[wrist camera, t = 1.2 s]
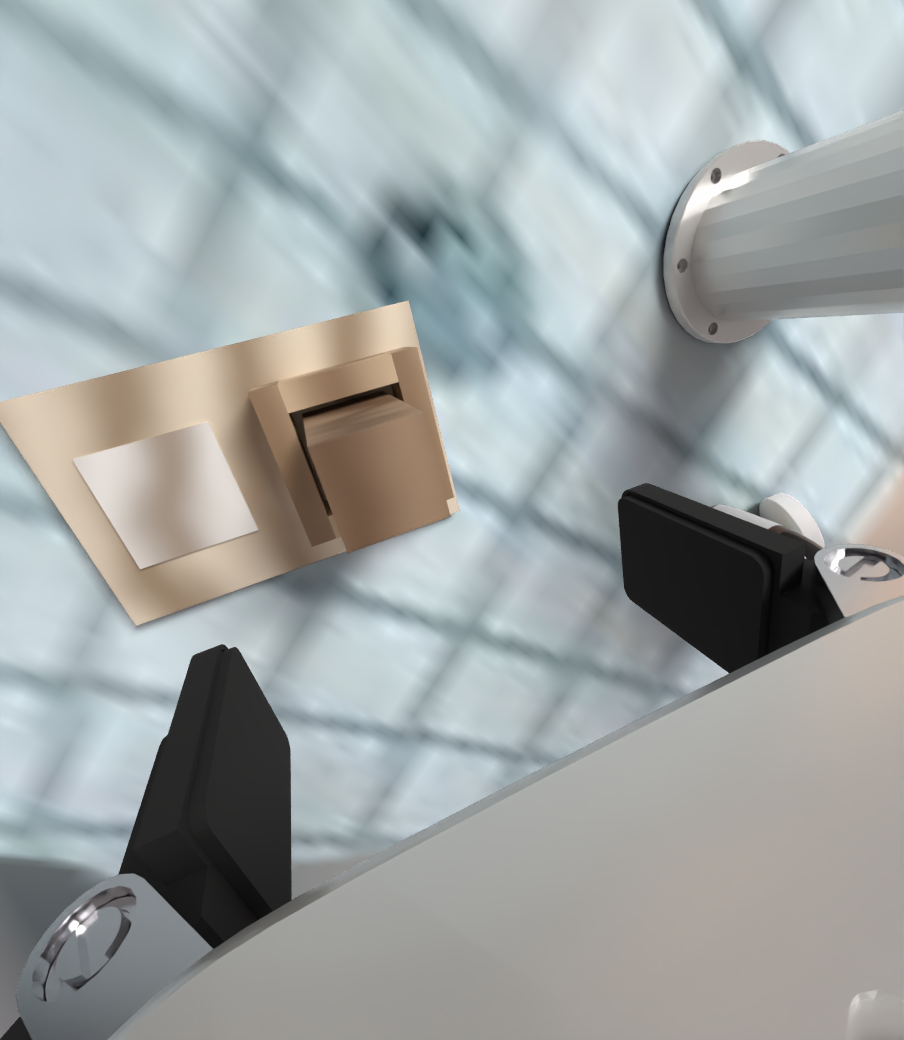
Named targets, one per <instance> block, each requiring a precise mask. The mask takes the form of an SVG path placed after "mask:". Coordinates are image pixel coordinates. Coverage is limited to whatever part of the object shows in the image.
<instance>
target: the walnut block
mask: <svg viewBox="0 0 904 1040" xmlns="http://www.w3.org/2000/svg"><path fill="white" fill-rule="evenodd" d="M302 415H303V422H304V428H305V434H306V441H307V447H308V450H309V453H310V456H311V458H312V461H313V463H314V466H315V469H316V471H317V474H318V477H319V479H320V482H321V485H322V487H323V490H324V492H325V495H326V498H327V500H328V503H329V506H330V508H331V511H332V513H333V516H334V519H335V521H336V524H337V527H338V529H339V532H340V535H341V537H342V540H343V542H344V545H345V548H346V550H347V553H350V552H352V551H355V550H358V549H361V548H364V547H366V546H369V545H372V544H375V543H378V542H381V541H383V540H386V539H389V538H392V537H395V536H397V535H400V534H403V533H406V532H409V531H411V530H414V529H417V528H420V527H423V526H425V525H428V524H431V523H434V522H437V521H439V520H442V519H445V518H448V517H451V516H450V512H449V508H448V504H447V501H446V497H445V493H444V489H443V485H442V481H441V477H440V473H439V469H438V465H437V461H436V457H435V454H434V450H433V446H432V442H431V438H430V434H429V430H428V426H427V422H426V418H425V414H424V412H422V411H420V410H418V409H416V408H415V407H413V406H411V405H409V404H407V403H405V402H403V401H401V400H399V399H397V398H395V397H393V396H391V395H390V394H388V393H386V392H384V391H379V392H376V393H372V394H369V395H365V396H362V397H358V398H355V399H351V400H348V401H344V402H341V403H337V404H334V405H330V406H327V407H323V408H320V409H316V410H313V411H309V412H306V413H302Z"/></svg>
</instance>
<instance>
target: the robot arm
mask: <svg viewBox="0 0 904 1040" xmlns="http://www.w3.org/2000/svg"><path fill="white" fill-rule="evenodd" d="M664 282H665V289H666V294H667V298H668V301H669V304H670V307H671V310H672V312H673V313H674V315H675V317H676V319H677V321H678V322H679V323H680V325H681V326H682V327H683V328H684V329H685V331H686V332H688V333H689V334H691V335H692V336H693V337H695V338H696V339H699V340H702V341H704V342H707V343H734V342H737V341H741V340H744V339H747V338H748V337H750V336H752V335H754V334H756V333H757V332H759V331H760V330H761V329H763V328H764V327H765V326H766V325H767V324H769V323H770V322H771V321H772V320H773V319H789V318H809V317H828V316H848V315H868V314H888V313H904V110H902V111H899V112H896V113H894V114H891V115H889V116H886V117H883V118H881V119H878V120H876V121H873V122H870V123H868V124H865V125H862V126H860V127H857V128H855V129H852V130H849V131H847V132H844V133H841V134H839V135H836V136H834V137H831V138H828V139H826V140H823V141H821V142H818V143H815V144H813V145H810V146H807V147H805V148H802V149H800V150H797V151H794V152H792V153H789V152H788V151H787V150H786V149H784V148H783V147H781V146H780V145H778V144H776V143H773V142H769V141H765V140H755V141H747V142H744V143H742V144H739V145H736V146H734V147H732V148H730V149H728V150H726V151H724V152H722V153H720V154H718V155H716V156H715V157H714V158H712V159H711V160H710V161H709V162H707V163H706V164H705V165H704V166H703V167H702V168H701V169H700V170H699V172H698V173H697V174H696V175H695V176H694V177H693V179H692V180H691V181H690V183H689V184H688V186H687V188H686V189H685V191H684V193H683V194H682V196H681V198H680V200H679V202H678V204H677V207H676V209H675V211H674V214H673V216H672V219H671V223H670V226H669V230H668V233H667V238H666V244H665V251H664ZM618 514H619V527H620V540H621V553H622V566H623V579H624V589H625V592H626V594H627V596H628V597H629V598H630V600H632V601H633V602H634V603H635V604H637V605H638V606H639V607H641V608H642V609H643V610H645V611H646V612H647V613H649V614H650V615H652V616H653V617H654V618H656V619H657V620H658V621H660V622H661V623H662V624H664V625H665V626H666V627H668V628H669V629H670V630H672V631H673V632H674V633H676V634H677V635H678V636H680V637H681V638H683V639H684V640H685V641H687V642H688V643H689V644H691V645H692V646H693V647H695V648H696V649H697V650H699V651H700V652H701V653H703V654H704V655H705V656H707V657H708V658H709V659H711V660H712V661H714V662H715V663H716V664H718V665H719V666H720V667H722V668H723V669H724V670H726V671H727V672H728V673H730V674H728V675H726V676H724V677H722V678H720V679H718V680H716V681H714V682H712V683H710V684H708V685H706V686H704V687H702V688H700V689H698V690H696V691H694V692H692V693H690V694H688V695H686V696H684V697H682V698H680V699H678V700H676V701H674V702H672V703H670V704H668V705H666V706H664V707H662V708H660V709H658V710H656V711H654V712H652V713H650V714H648V715H646V716H644V717H642V718H640V719H638V720H636V721H634V722H633V723H631V724H629V725H627V726H625V727H623V728H621V729H619V730H617V731H615V732H613V733H611V734H609V735H607V736H605V737H603V738H601V739H599V740H597V741H595V742H593V743H591V744H589V745H587V746H585V747H583V748H581V749H579V750H577V751H576V752H574V753H572V754H570V755H568V756H566V757H564V758H562V759H560V760H558V761H556V762H554V763H552V764H550V765H548V766H546V767H544V768H542V769H540V770H538V771H536V772H534V773H532V774H530V775H529V776H527V777H525V778H523V779H521V780H519V781H517V782H515V783H513V784H511V785H509V786H507V787H505V788H503V789H501V790H499V791H498V792H496V793H494V794H492V795H490V796H488V797H486V798H484V799H482V800H480V801H478V802H476V803H474V804H472V805H470V806H468V807H467V808H465V809H463V810H461V811H459V812H457V813H455V814H453V815H451V816H449V817H447V818H445V819H443V820H441V821H439V822H437V823H436V824H434V825H432V826H430V827H428V828H426V829H424V830H422V831H420V832H418V833H416V834H414V835H412V836H410V837H408V838H407V839H405V840H403V841H401V842H399V843H397V844H395V845H393V846H391V847H389V848H387V849H386V850H384V851H382V852H380V853H378V854H376V855H374V856H373V857H371V858H369V859H367V860H365V861H363V862H361V863H360V864H358V865H356V866H354V867H352V868H350V869H348V870H347V871H345V872H343V873H341V874H339V875H337V876H335V877H334V878H332V879H330V880H328V881H326V882H324V883H322V884H320V885H319V886H317V887H315V888H313V889H311V890H309V891H307V892H306V893H304V894H302V895H300V896H298V897H297V898H295V899H293V900H291V764H290V745H289V741H288V738H287V736H286V733H285V732H284V730H283V728H282V726H281V724H280V723H279V721H278V719H277V717H276V715H275V714H274V712H273V710H272V708H271V706H270V705H269V703H268V701H267V699H266V698H265V696H264V694H263V692H262V690H261V689H260V687H259V685H258V683H257V681H256V680H255V678H254V676H253V674H252V672H251V671H250V669H249V667H248V665H247V663H246V662H245V660H244V658H243V656H242V655H241V653H240V651H239V650H238V649H237V648H236V647H233V648H230V649H228V648H227V647H226V646H225V645H223V644H221V645H219V646H216V647H214V648H211V649H208V650H206V651H203V652H200V653H198V654H195V655H193V656H192V658H191V661H190V664H189V668H188V671H187V674H186V677H185V681H184V684H183V687H182V690H181V694H180V697H179V700H178V703H177V707H176V710H175V713H174V717H173V720H172V723H171V726H170V730H169V733H168V735H167V736H166V737H165V738H164V739H163V740H162V742H161V744H160V746H159V749H158V752H157V755H156V759H155V762H154V765H153V768H152V771H151V774H150V777H149V780H148V784H147V787H146V790H145V793H144V796H143V799H142V802H141V806H140V809H139V812H138V815H137V818H136V821H135V824H134V827H133V831H132V834H131V837H130V840H129V843H128V846H127V849H126V852H125V856H124V859H123V862H122V865H121V868H120V871H119V874H118V875H117V876H114V877H112V878H109V879H107V880H104V881H102V882H100V883H99V884H97V885H96V886H94V887H93V888H91V889H89V890H88V891H86V892H85V893H84V894H82V895H81V896H80V897H79V898H78V899H77V900H75V901H74V902H73V903H72V904H71V905H70V906H69V907H67V908H66V909H65V910H64V911H63V913H62V914H61V915H60V916H59V917H58V918H57V919H56V920H55V921H54V922H53V924H52V925H51V926H50V927H49V928H48V929H47V931H46V932H45V933H44V935H43V936H42V938H41V939H40V941H39V942H38V944H37V945H36V946H35V948H34V949H33V951H32V952H31V954H30V957H29V959H28V961H27V963H26V965H25V967H24V969H23V971H22V973H21V976H20V980H19V984H18V988H17V992H16V1001H17V1008H18V1012H19V1014H20V1017H19V1018H18V1019H17V1020H16V1022H15V1023H14V1024H13V1025H12V1026H11V1027H10V1028H9V1030H8V1031H7V1032H6V1033H5V1034H4V1035H3V1037H2V1038H1V1039H0V1040H904V556H903V555H901V554H898V553H896V552H894V551H890V550H887V549H884V548H880V547H876V546H870V545H864V544H839V545H833V546H829V547H825V548H823V549H821V550H820V551H818V552H817V553H816V555H815V557H814V562H813V561H810V560H808V559H805V550H806V544H805V543H803V542H800V541H798V540H795V539H792V538H790V537H787V536H784V535H782V534H779V533H777V532H774V531H771V530H769V529H766V528H764V527H761V526H758V525H756V524H753V523H750V522H748V521H745V520H743V519H740V518H737V517H735V516H732V515H730V514H727V513H724V512H722V511H719V510H716V509H714V508H711V507H709V506H706V505H703V504H701V503H698V502H696V501H693V500H690V499H688V498H685V497H682V496H680V495H677V494H675V493H672V492H669V491H667V490H664V489H662V488H659V487H656V486H654V485H651V484H647V483H645V484H642V485H639V486H637V487H634V488H631V489H629V490H626V491H625V492H624V493H623V494H622V498H621V499H620V500H619V502H618Z"/></svg>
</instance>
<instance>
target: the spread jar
mask: <svg viewBox="0 0 904 1040" xmlns="http://www.w3.org/2000/svg"><path fill="white" fill-rule="evenodd" d="M711 508H714V509H716V510H719V511H722V512H724V513H727V514H730V515H732V516H735V517H737V518H740V519H743V520H745V521H748V522H750V523H753V524H756V525H758V526H761V527H764V528H766V529H769V530H771V531H774V532H777V533H779V534H782V535H784V536H787V537H790V538H792V539H795V540H798V541H800V542H803V543H805V544H806V550H805V559H808V560H810V561H813V562H814V557H815V555H816V553H817V552H818V551H820V550H821V549H823V548H825V544H824V540H823V537H822V534H821V532H820V529H819V528H818V526H817V524H816V522H815V521H814V519H813V517H812V516H811V515H810V513H809V512H808V511H807V510H806V508H805V507H804V506H803V505H802V504H801V503H800V502H798V501H797V500H796V499H795V498H793V497H792V496H790V495H788V494H785V493H778V494H775V495H773V496H770V497H768V498H765V499H763V500H762V501H761V503H760V506H759V513H760V517H759V516H757V515H754V514H751V513H749V512H746V511H743V510H740V509H738V508H734V507H731V506H727V505H722V504H720V505H714V506H712V507H711Z"/></svg>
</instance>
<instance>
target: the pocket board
mask: <svg viewBox="0 0 904 1040" xmlns="http://www.w3.org/2000/svg"><path fill="white" fill-rule="evenodd" d="M379 391H384V392H386V393H388V394H390V395H391V396H393V397H395V398H397V399H399V400H401V401H403V402H405V403H407V404H409V405H411V406H413V407H415V408H416V409H418V410H420V411H422V412H424V414H425V418H426V422H427V426H428V430H429V434H430V438H431V442H432V446H433V450H434V454H435V457H436V461H437V465H438V469H439V473H440V477H441V481H442V485H443V489H444V493H445V497H446V501H447V504H448V508H449V512H450V514H452V513H455V512H458V511H460V510H459V506H458V502H457V497H456V493H455V489H454V485H453V481H452V477H451V473H450V469H449V465H448V461H447V456H446V452H445V448H444V444H443V440H442V436H441V432H440V428H439V424H438V420H437V415H436V411H435V407H434V403H433V399H432V395H431V391H430V387H429V383H428V379H427V374H426V370H425V366H424V362H423V358H422V354H421V350H420V346H419V342H418V338H417V333H416V329H415V325H414V321H413V317H412V313H411V309H410V305H409V301H405V302H401V303H397V304H393V305H389V306H385V307H381V308H377V309H372V310H368V311H364V312H360V313H356V314H352V315H348V316H344V317H340V318H336V319H332V320H328V321H324V322H320V323H316V324H312V325H308V326H304V327H300V328H296V329H292V330H288V331H284V332H280V333H276V334H272V335H268V336H264V337H260V338H256V339H252V340H248V341H244V342H240V343H236V344H232V345H227V346H223V347H219V348H215V349H211V350H207V351H203V352H199V353H195V354H191V355H187V356H183V357H179V358H175V359H171V360H167V361H163V362H159V363H155V364H151V365H147V366H143V367H139V368H135V369H131V370H127V371H123V372H119V373H115V374H111V375H107V376H103V377H99V378H95V379H91V380H87V381H83V382H78V383H74V384H70V385H66V386H62V387H58V388H54V389H50V390H46V391H42V392H38V393H34V394H30V395H26V396H22V397H18V398H14V399H10V400H6V401H2V402H0V423H1V424H2V426H3V427H4V429H5V430H6V432H7V433H8V435H9V436H10V438H11V439H12V441H13V442H14V444H15V445H16V447H17V448H18V450H19V451H20V453H21V454H22V456H23V457H24V459H25V460H26V462H27V463H28V465H29V466H30V468H31V469H32V471H33V472H34V474H35V475H36V477H37V478H38V480H39V481H40V483H41V484H42V486H43V487H44V489H45V490H46V492H47V493H48V495H49V496H50V498H51V499H52V501H53V502H54V504H55V505H56V507H57V508H58V510H59V511H60V513H61V514H62V516H63V517H64V519H65V520H66V522H67V523H68V525H69V526H70V528H71V529H72V531H73V532H74V534H75V535H76V537H77V538H78V540H79V541H80V543H81V544H82V546H83V547H84V549H85V550H86V552H87V553H88V555H89V556H90V558H91V559H92V561H93V562H94V564H95V565H96V567H97V568H98V570H99V571H100V573H101V574H102V576H103V577H104V579H105V580H106V582H107V583H108V585H109V586H110V588H111V589H112V591H113V592H114V594H115V595H116V597H117V598H118V600H119V601H120V603H121V604H122V606H123V607H124V609H125V610H126V612H127V613H128V615H129V616H130V618H131V619H132V621H133V622H134V624H135V625H136V626H137V625H140V624H143V623H146V622H148V621H151V620H154V619H157V618H160V617H162V616H165V615H168V614H171V613H174V612H176V611H179V610H182V609H185V608H188V607H191V606H193V605H196V604H199V603H202V602H205V601H207V600H210V599H213V598H216V597H219V596H221V595H224V594H227V593H230V592H233V591H236V590H238V589H241V588H244V587H247V586H250V585H252V584H255V583H258V582H261V581H264V580H267V579H269V578H272V577H275V576H278V575H281V574H283V573H286V572H289V571H292V570H295V569H297V568H300V567H303V566H306V565H309V564H312V563H314V562H317V561H320V560H323V559H326V558H328V557H331V556H334V555H337V554H340V553H342V552H345V551H347V550H346V548H345V545H344V542H343V540H342V537H341V535H340V532H339V529H338V527H337V524H336V521H335V519H334V516H333V513H332V511H331V508H330V506H329V503H328V500H327V498H326V495H325V492H324V490H323V487H322V485H321V482H320V479H319V477H318V474H317V471H316V469H315V466H314V463H313V461H312V458H311V456H310V453H309V450H308V447H307V441H306V434H305V428H304V422H303V415H302V413H306V412H309V411H313V410H316V409H320V408H323V407H327V406H330V405H334V404H337V403H341V402H344V401H348V400H351V399H355V398H358V397H362V396H365V395H369V394H372V393H376V392H379Z"/></svg>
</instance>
